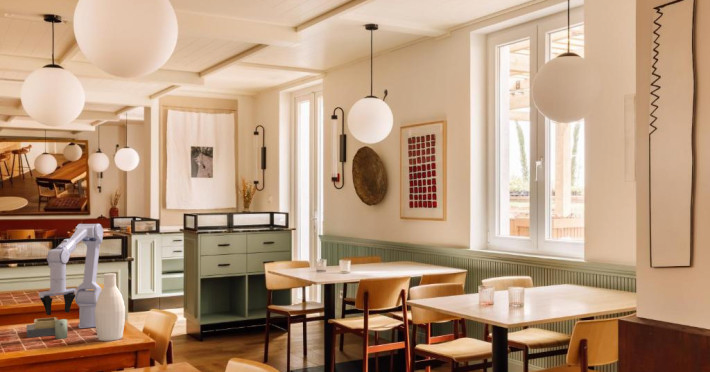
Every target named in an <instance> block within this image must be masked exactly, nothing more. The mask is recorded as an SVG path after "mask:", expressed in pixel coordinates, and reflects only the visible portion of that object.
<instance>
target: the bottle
mask: <svg viewBox="0 0 710 372" xmlns="http://www.w3.org/2000/svg"><path fill="white" fill-rule="evenodd" d="M103 276H104V277H103V287H102V288H101V293H100V294H99V296H98V300H97V303H96V308H95V320H96V327H95V329H96V336H97V339H98V340H99V341H102V342H109V341H110V342H114V341H118V340H121V339H122V338H123V336H124V329H125V322H126V321H125V319H126V317H125V316H126V307H125V301H124V298H123V295H122V293H121V291H120V290H119V288H118V286H117V273H115V272H112V273H104V274H103Z"/></svg>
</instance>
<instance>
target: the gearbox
mask: <svg viewBox="0 0 710 372" xmlns="http://www.w3.org/2000/svg"><path fill="white" fill-rule="evenodd" d="M55 320H58V317H56V316H54V317H45V318H44V317H42V318H34V320H33V323H34V324H26V338H36V337H37V338H38V337H50V336H55Z"/></svg>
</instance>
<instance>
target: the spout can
mask: <svg viewBox="0 0 710 372" xmlns="http://www.w3.org/2000/svg"><path fill="white" fill-rule="evenodd" d="M54 337H55V340H63V339H68V318H67V319H65V318H62V319H61V318H60V319H57V320H55V335H54Z"/></svg>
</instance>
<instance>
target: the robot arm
mask: <svg viewBox="0 0 710 372" xmlns="http://www.w3.org/2000/svg"><path fill="white" fill-rule="evenodd" d="M74 230H75V231H74V233H72V235H71V236H70V238H65V239H63V241H62V242H60V243H59V245H57V247H56V248H53V249H50V250H49V251H48V253H47V255H46V261H47V263H48V268H50V269H49V279H50V280H49V290H45V291H39V292H38V298H40V299H39V300H40V301H41V303H42V304H43V307H44V310H45V313H46V316H51V315H52V303H53V298H52V297H54V296H63V299H64V313H70V311H71V307H72V304H73V301H75V304H76V305H77V306H78V307H79V309H78V310H79V323H78V324H77V327H78V329H85V328H87V329H88V328H96V320H95V308H96V303H97V300H98V296H99V294H100V293H101V291H102V287H101V286H100V285H99V284H98V283H97V277H98V264H99V255H100V248H101V247H100V246H101V244H102V243H103V238H104V228H103V226H102V224H100V223H78V224H77V226H75V229H74ZM80 242H81V243H82V244H85V245H86V251H85V252H86V254H85V261H84V274H83V280H82V281H83V282H81V283H80V284H79V285H78V286H77V287H76V288H75V287H74V288H67V272H66V271H67V265H66V264H67V263H68V262H69V260H70V257H71V254H72V253H73V252H74V251H76V249H77V245H78V244H79V243H80Z"/></svg>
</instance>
